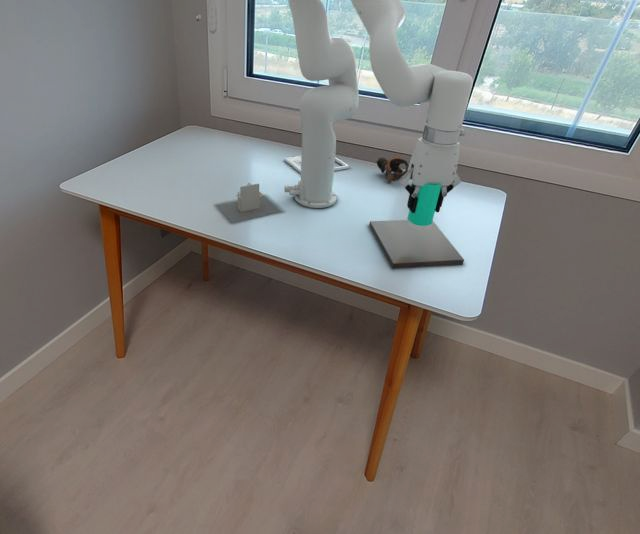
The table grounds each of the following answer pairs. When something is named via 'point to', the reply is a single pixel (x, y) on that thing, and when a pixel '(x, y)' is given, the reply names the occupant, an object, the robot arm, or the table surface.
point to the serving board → (414, 244)
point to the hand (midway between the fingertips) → (423, 209)
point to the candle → (425, 205)
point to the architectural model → (248, 205)
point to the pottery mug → (392, 168)
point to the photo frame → (296, 163)
